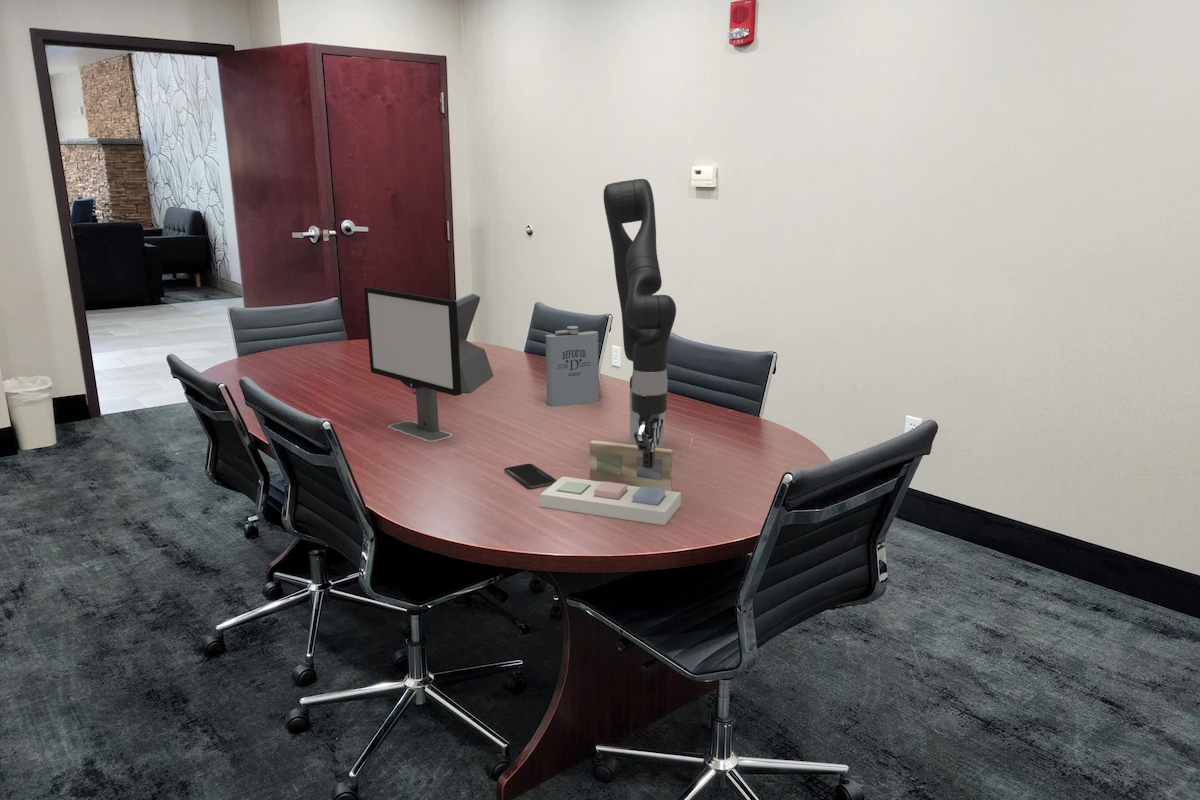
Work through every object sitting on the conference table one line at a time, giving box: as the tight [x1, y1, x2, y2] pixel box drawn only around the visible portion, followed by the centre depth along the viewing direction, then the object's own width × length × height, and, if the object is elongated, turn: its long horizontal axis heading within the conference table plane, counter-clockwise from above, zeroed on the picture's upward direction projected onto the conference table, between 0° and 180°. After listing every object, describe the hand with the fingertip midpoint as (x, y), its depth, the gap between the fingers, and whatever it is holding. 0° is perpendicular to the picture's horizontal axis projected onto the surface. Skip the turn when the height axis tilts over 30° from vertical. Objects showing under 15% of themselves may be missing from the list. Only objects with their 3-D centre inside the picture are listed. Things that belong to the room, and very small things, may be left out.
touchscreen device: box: [414, 293, 494, 394], centre depth 295 cm, size 35×20×30 cm, turn 168°
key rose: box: [594, 481, 627, 500], centre depth 189 cm, size 6×6×3 cm
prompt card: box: [588, 440, 674, 491], centre depth 200 cm, size 2×20×10 cm, turn 68°
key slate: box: [633, 486, 665, 506], centre depth 185 cm, size 6×6×3 cm
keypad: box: [539, 476, 682, 526], centre depth 189 cm, size 12×29×3 cm, turn 68°
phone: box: [503, 463, 557, 490], centre depth 207 cm, size 8×1×15 cm
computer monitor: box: [363, 286, 462, 443], centre depth 238 cm, size 41×8×40 cm, turn 47°
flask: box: [545, 325, 600, 407], centre depth 269 cm, size 17×5×25 cm, turn 112°
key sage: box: [557, 481, 590, 495], centre depth 192 cm, size 6×6×3 cm
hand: (648, 466), depth 183 cm, fingers closed
